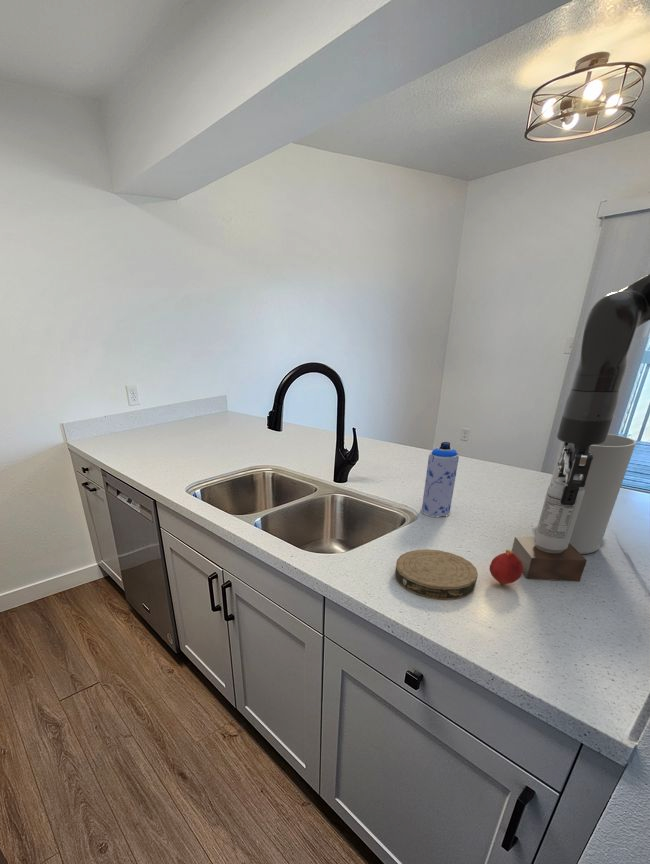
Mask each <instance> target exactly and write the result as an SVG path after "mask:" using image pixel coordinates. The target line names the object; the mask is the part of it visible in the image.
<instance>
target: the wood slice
mask: <svg viewBox="0 0 650 864" xmlns="http://www.w3.org/2000/svg"><path fill="white" fill-rule="evenodd" d="M395 562H396V563H395V573H394V574H395V575H394V578H395V580H396V582H397V583H398V584H399V585H400V586H401V587H402V588H403V589H404V590H406V591H408V592H410V593H412V594H414V595H417V596H420V597H423V598H427V599H432V600H440V601H450V600H451V601H452V600H459V599H463V598H466V597H467V596H469V595H471V594H472V593H473V592H474V590H475V587H476V585H477V580H478V575H479V574H478V570H477V567H476V566H475V565H474V564H473V563H472V562H471V561H469V560H467V559H466V558H464V557H463V556H460V555H457V554H455V553H452V552H448V551H444V550H440V549H439V550H438V549H427V548H426V549H415V550H414V549H413V550H410V551H407V552H405V553H403V554H400V555H399V557H398V558H397V559H396V561H395Z"/></svg>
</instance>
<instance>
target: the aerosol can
mask: <svg viewBox="0 0 650 864" xmlns="http://www.w3.org/2000/svg"><path fill="white" fill-rule="evenodd" d="M427 459H428V460H427V466H426V473H425V474H426V475H425V482H424V488H423V497H422V504H421V508H420V512H421V514H423V513H424V514H426V515H425V516H427V515H430V516H446V515H449V514H450V515H451V512H452V511H451V507H452V502H453V495H454V490H455V483H456V477H457V471H458V465H459V459H460V455H459V453H458V452H457V451H456V449H454V448H453V447H451V442H449V441H443V442H441V443H440V446H438V447H436V448H434V449H433V450H432V451H431V452H430V453H429V455H428V458H427ZM424 514H423V515H424ZM450 515H449V516H450ZM430 516H429V517H430ZM446 517H447V516H446Z"/></svg>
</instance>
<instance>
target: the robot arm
mask: <svg viewBox="0 0 650 864" xmlns="http://www.w3.org/2000/svg"><path fill="white" fill-rule="evenodd" d="M585 320H586V321H585V324H584V329H583V333H582V334H583V335H582V340H581V346H580V355H579V360H578V364H577V366H576V369H575V373H574V377H573V380H572V384H571V389H570V390H569V394H568V396H567V398H566V400H565V401H566V402H565V404H564V408H563V412H562V416H561V419H560V423H559V427H558V431H557V435H556V438H557V440H558V441H561V442H562V441H563V442H564V445H563V449H562V452H561V456H560V459H559V462H558V466H559V468H558V471H559V474H558V477H566V480H565V487H564V490H563V494H562V497H561V501H560V502H561V504H562V505H569V506H573V505H574V504H575V501H576V498H577V494H578V491H579V488H581V487H584V486H585V482H586V479H587V475H588V472H589V468H590V465H591V461H592V460H593V455H591V453H588V452H589V447H590V445H593V444H600V443H603V442H604V441H605V440H606V438H607V435H608V434H609V432H610V428H611V426H612V422H613V418H614V415H615V411H616V410H617V405H618V401H619V394H620V390H621V387H622V384H623V381H624V377H625V374H626V372H627V371H626V370H627V367H628V354H629V351H630V348H631V345H632V342H633V339H634V336H635V333H636V331H637V328H639V327H640V326H642V325H644V324H645V323H647V322H649V321H650V273H648V274H646V275H645V276H643V277H641V278H639V279H637V280H636V281H634V282H633V283H631V284H629V285H628V286H626V287H624V288H621V290H619V291H614V292H611V293H608V294H606V295H604V296H603V297H601V298H600V299H598V300H597V302H595V303H594V305H593V306H592V307H591V308H590V310H589V312H588V314H587V318H586V319H585ZM560 472H561V473H560ZM574 476H578V480H573V478H574Z"/></svg>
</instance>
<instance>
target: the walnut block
mask: <svg viewBox="0 0 650 864" xmlns="http://www.w3.org/2000/svg"><path fill="white" fill-rule="evenodd" d="M534 538H535V536H534V537H531V536H515V537H514V540H513V543H512V547H511V551H512V552H513V553H514V554H515V555H516V556H518V557H519V559H520V560H521V562H522V564H523V573H522V575H523V576H524V578H525V579H528V580H545V581H562V582H563V581H565V582H581V579H582V576H583V573H584V570H585V567H586V565H587V559H586V558H585V556H583V554H580V553H579V552H578V551H577V550H576V549H575V548H574V547H573V546H572V545H571V544H570V543H569V545H568V548H567V549H565V550H563V552H561V553H548V552H544V551H541V550H539V549H538V548H537V547H536V544H535V543H534Z"/></svg>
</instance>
